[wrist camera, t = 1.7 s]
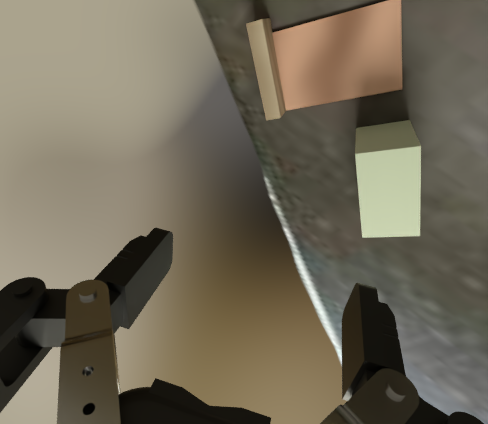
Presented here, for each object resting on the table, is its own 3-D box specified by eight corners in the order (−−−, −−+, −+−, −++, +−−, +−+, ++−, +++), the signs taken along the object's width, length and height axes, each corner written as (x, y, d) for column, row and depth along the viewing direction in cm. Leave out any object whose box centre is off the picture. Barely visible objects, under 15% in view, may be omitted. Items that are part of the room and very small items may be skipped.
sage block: (409, 119, 25) (421, 145, 21) (409, 197, 29) (419, 235, 24) (356, 127, 27) (355, 154, 22) (362, 200, 30) (362, 237, 25)
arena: (399, -83, 20) (404, -93, 18) (402, 88, 24) (405, 96, 22) (245, -27, 24) (234, -30, 22) (273, 112, 28) (266, 120, 26)
